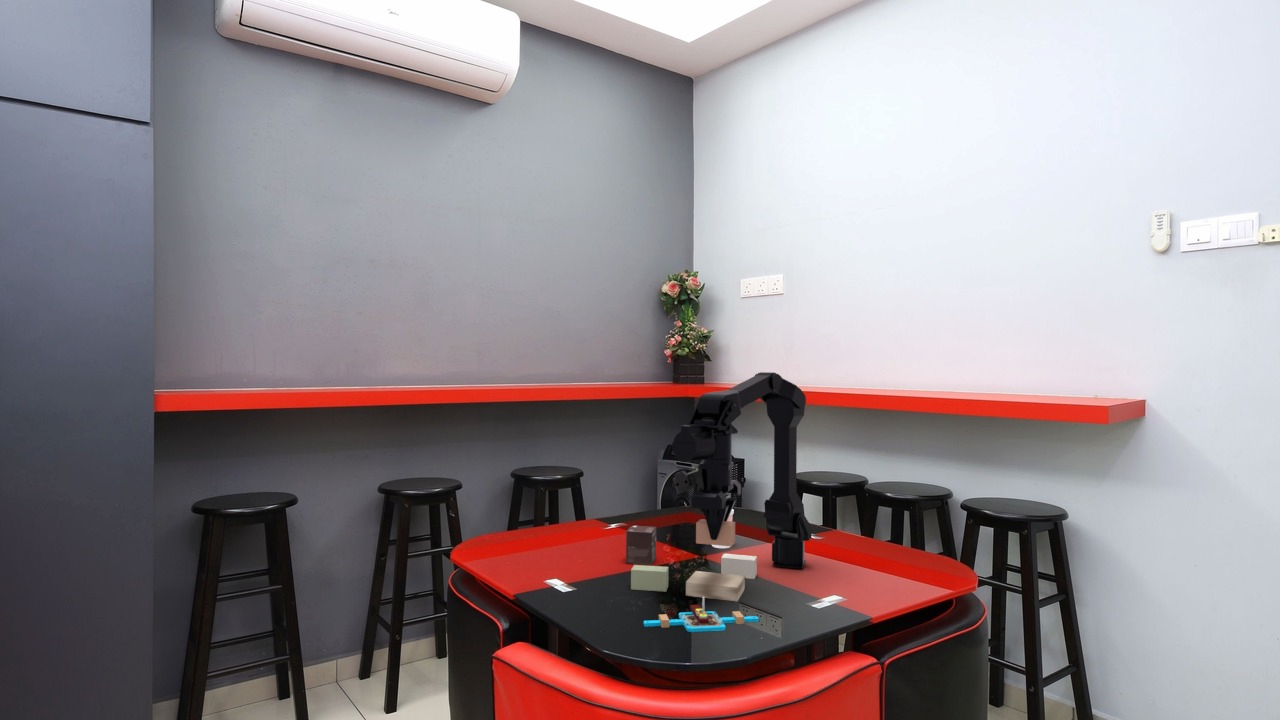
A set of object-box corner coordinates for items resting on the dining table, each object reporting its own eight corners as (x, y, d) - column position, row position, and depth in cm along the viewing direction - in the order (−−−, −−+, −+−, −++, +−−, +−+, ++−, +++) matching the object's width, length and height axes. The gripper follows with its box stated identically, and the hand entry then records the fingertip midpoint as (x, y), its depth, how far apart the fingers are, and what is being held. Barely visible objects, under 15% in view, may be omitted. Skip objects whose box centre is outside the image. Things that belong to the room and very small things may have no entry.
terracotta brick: (735, 542, 138) (735, 521, 138) (731, 546, 135) (731, 525, 135) (700, 539, 141) (700, 519, 141) (696, 543, 137) (696, 522, 137)
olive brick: (668, 586, 141) (668, 566, 141) (666, 592, 138) (666, 571, 138) (633, 584, 142) (634, 564, 142) (630, 590, 139) (631, 569, 139)
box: (651, 565, 156) (652, 532, 156) (625, 563, 157) (625, 530, 157) (656, 558, 162) (657, 526, 162) (631, 556, 163) (631, 525, 163)
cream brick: (756, 575, 150) (756, 556, 150) (754, 579, 147) (754, 560, 147) (724, 572, 152) (724, 553, 152) (721, 576, 149) (721, 557, 149)
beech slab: (744, 591, 140) (744, 575, 140) (737, 603, 132) (737, 587, 132) (695, 585, 143) (695, 570, 143) (685, 597, 135) (686, 582, 135)
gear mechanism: (639, 617, 125) (647, 637, 115) (639, 586, 125) (648, 604, 116) (748, 613, 128) (765, 632, 118) (748, 583, 128) (765, 599, 118)
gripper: (689, 450, 150) (689, 524, 149) (663, 461, 132) (662, 544, 132) (741, 453, 146) (741, 528, 146) (721, 464, 128) (721, 550, 128)
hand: (716, 537), depth 138 cm, fingers closed on terracotta brick, 3 cm apart
